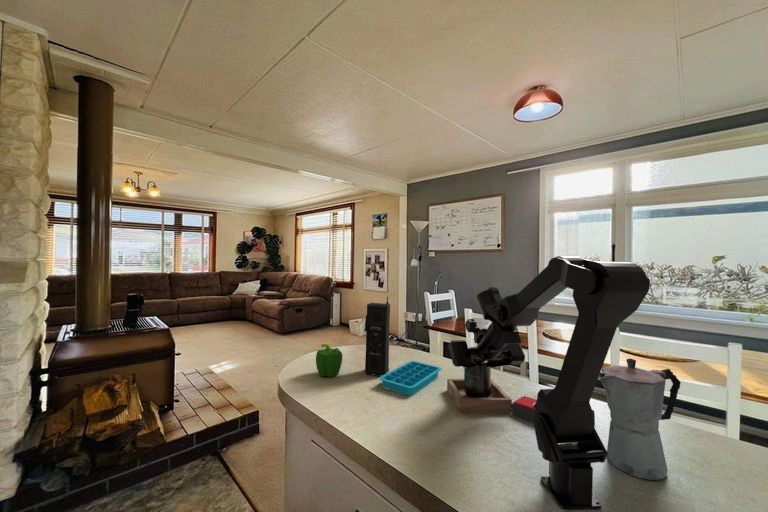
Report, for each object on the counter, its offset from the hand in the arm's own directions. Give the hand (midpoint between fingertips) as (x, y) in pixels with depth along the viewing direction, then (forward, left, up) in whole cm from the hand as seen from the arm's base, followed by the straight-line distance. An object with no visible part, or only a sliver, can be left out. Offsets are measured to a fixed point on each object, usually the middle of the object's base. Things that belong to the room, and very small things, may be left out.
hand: (475, 367), depth 85 cm
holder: (-1, 0, -9) cm, 9 cm away
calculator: (-11, -15, -9) cm, 21 cm away
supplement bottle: (-1, 0, -7) cm, 7 cm away
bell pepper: (+17, +42, -9) cm, 46 cm away
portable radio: (+19, +27, -9) cm, 34 cm away
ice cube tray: (+12, +16, -9) cm, 22 cm away
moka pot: (-27, -22, -9) cm, 36 cm away
